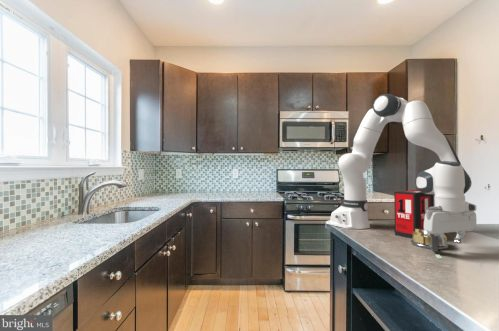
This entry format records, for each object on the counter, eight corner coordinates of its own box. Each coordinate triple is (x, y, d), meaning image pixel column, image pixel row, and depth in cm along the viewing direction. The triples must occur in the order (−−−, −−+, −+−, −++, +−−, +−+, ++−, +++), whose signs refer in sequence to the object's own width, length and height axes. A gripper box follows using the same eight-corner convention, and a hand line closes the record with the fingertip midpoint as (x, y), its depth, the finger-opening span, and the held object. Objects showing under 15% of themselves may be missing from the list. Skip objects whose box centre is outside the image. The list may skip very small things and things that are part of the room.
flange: (406, 244, 102) (406, 229, 102) (416, 239, 109) (416, 225, 110) (443, 252, 93) (443, 235, 93) (451, 245, 100) (451, 230, 100)
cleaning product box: (415, 239, 109) (414, 193, 110) (394, 235, 117) (394, 191, 117) (433, 234, 118) (433, 191, 118) (413, 230, 126) (412, 190, 126)
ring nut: (411, 237, 108) (411, 225, 108) (442, 240, 103) (442, 227, 103) (416, 248, 92) (416, 235, 92) (454, 253, 87) (454, 238, 87)
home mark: (435, 254, 89) (435, 254, 89) (439, 255, 89) (439, 254, 89) (438, 258, 86) (438, 257, 86) (442, 258, 85) (442, 258, 85)
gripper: (434, 208, 86) (435, 248, 86) (480, 205, 91) (481, 244, 91) (418, 205, 92) (419, 243, 92) (461, 203, 97) (462, 239, 97)
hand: (450, 244), depth 92 cm, fingers open, 6 cm apart
